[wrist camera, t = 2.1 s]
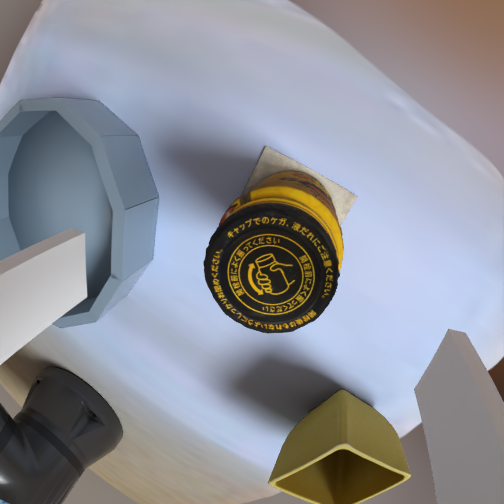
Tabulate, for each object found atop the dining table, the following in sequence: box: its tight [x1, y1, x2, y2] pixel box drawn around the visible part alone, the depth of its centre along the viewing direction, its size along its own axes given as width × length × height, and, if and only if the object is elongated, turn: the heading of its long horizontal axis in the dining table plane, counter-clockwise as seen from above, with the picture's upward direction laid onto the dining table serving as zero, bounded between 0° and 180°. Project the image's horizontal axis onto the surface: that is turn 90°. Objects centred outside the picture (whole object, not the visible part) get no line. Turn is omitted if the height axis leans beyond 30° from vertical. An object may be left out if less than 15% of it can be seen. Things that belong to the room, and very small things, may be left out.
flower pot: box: [268, 390, 411, 504], centre depth 24 cm, size 9×9×9 cm
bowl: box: [0, 98, 159, 328], centre depth 24 cm, size 20×20×5 cm
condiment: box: [204, 146, 358, 333], centre depth 18 cm, size 7×8×12 cm
